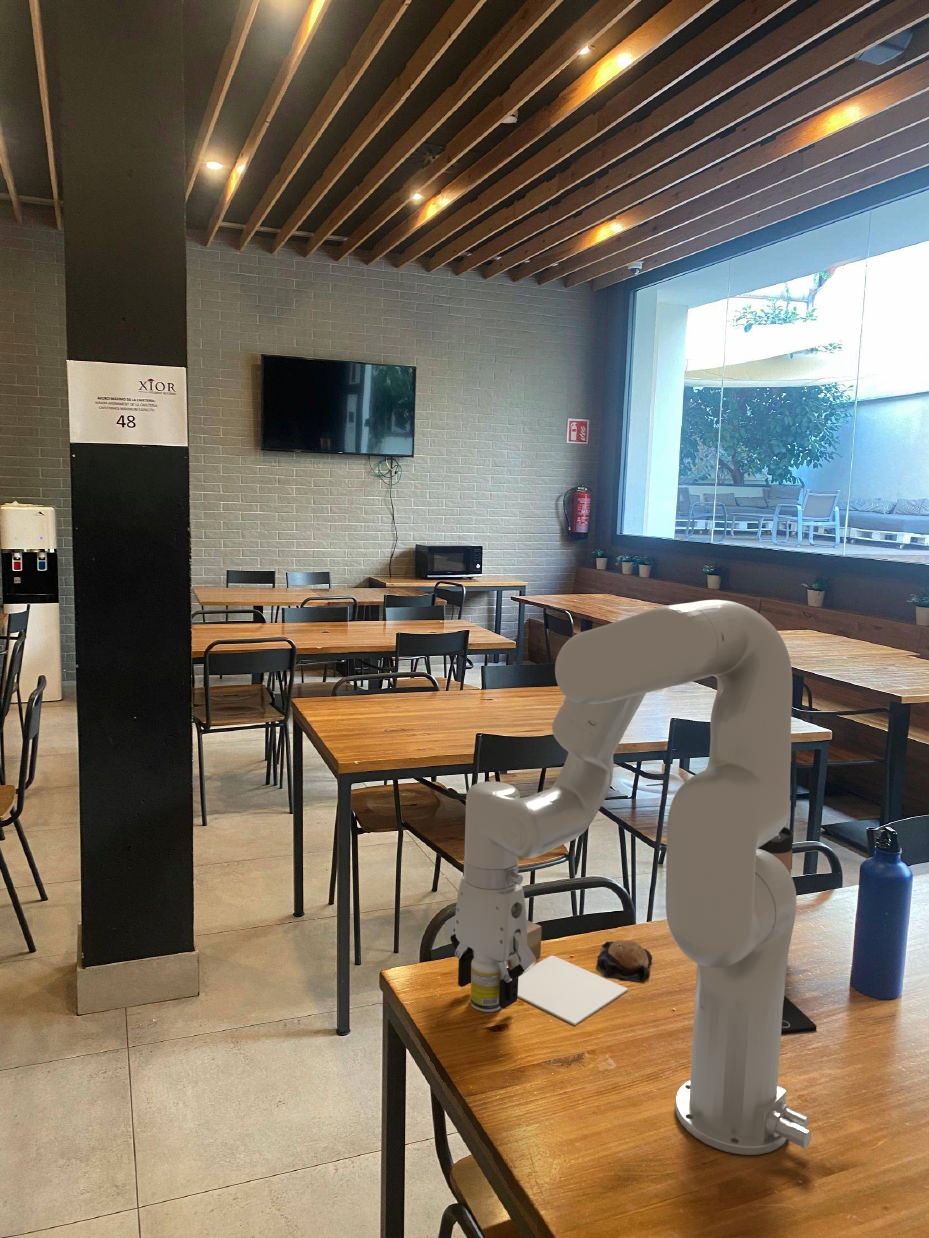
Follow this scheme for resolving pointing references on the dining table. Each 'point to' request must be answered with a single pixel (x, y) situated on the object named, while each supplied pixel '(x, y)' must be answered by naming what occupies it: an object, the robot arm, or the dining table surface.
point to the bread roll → (624, 961)
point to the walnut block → (533, 939)
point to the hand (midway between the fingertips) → (487, 992)
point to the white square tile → (566, 989)
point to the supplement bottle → (485, 983)
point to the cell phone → (795, 1019)
